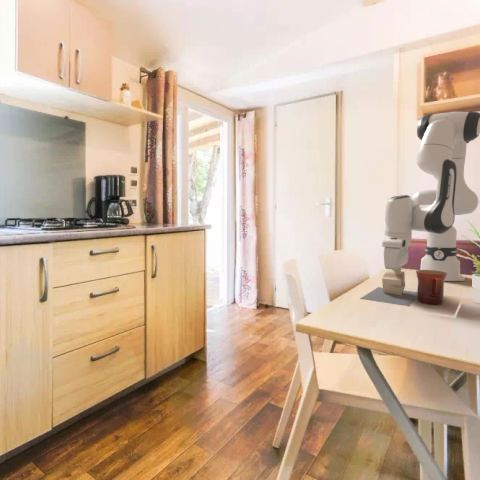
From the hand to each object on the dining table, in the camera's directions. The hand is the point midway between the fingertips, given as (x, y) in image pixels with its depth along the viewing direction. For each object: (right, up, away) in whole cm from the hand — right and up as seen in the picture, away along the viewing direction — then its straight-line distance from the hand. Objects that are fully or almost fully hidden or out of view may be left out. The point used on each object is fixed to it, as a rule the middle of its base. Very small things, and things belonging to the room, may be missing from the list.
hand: (396, 278), depth 125 cm
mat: (-5, -6, -6) cm, 10 cm away
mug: (+4, -7, -16) cm, 18 cm away
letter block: (-2, -4, -2) cm, 5 cm away
